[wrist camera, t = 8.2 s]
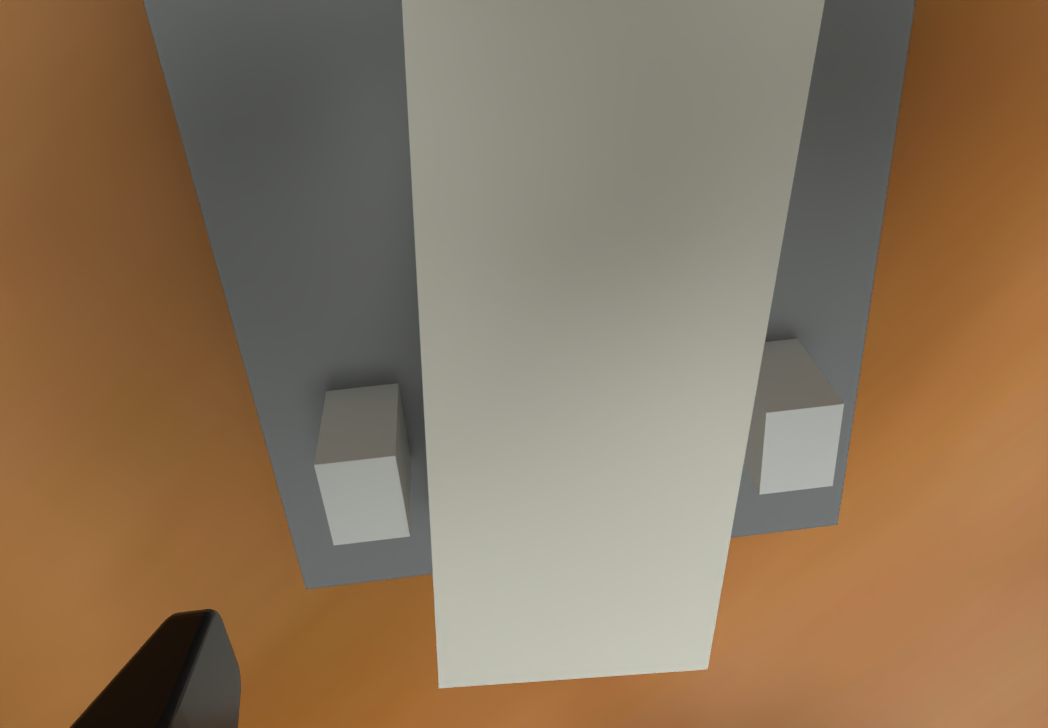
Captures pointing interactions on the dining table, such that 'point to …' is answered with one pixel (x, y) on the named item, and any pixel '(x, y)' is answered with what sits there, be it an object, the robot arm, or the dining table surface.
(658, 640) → the white block
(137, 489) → the dining table surface
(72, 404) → the dining table surface
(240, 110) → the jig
